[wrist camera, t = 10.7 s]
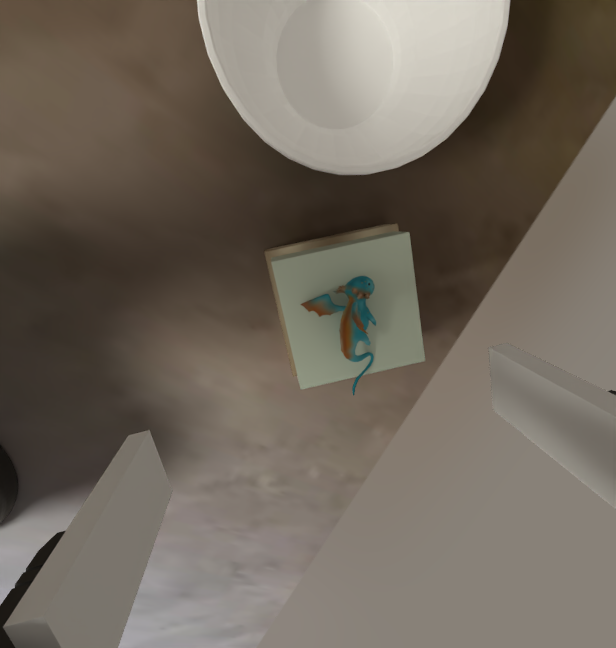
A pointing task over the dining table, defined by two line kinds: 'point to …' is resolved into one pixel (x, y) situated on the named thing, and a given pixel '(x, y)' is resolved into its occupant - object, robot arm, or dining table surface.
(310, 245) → the tower base
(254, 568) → the dining table surface
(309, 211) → the dining table surface
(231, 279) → the dining table surface
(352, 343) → the dragon figurine
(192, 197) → the dining table surface
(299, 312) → the tower top
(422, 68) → the bowl
